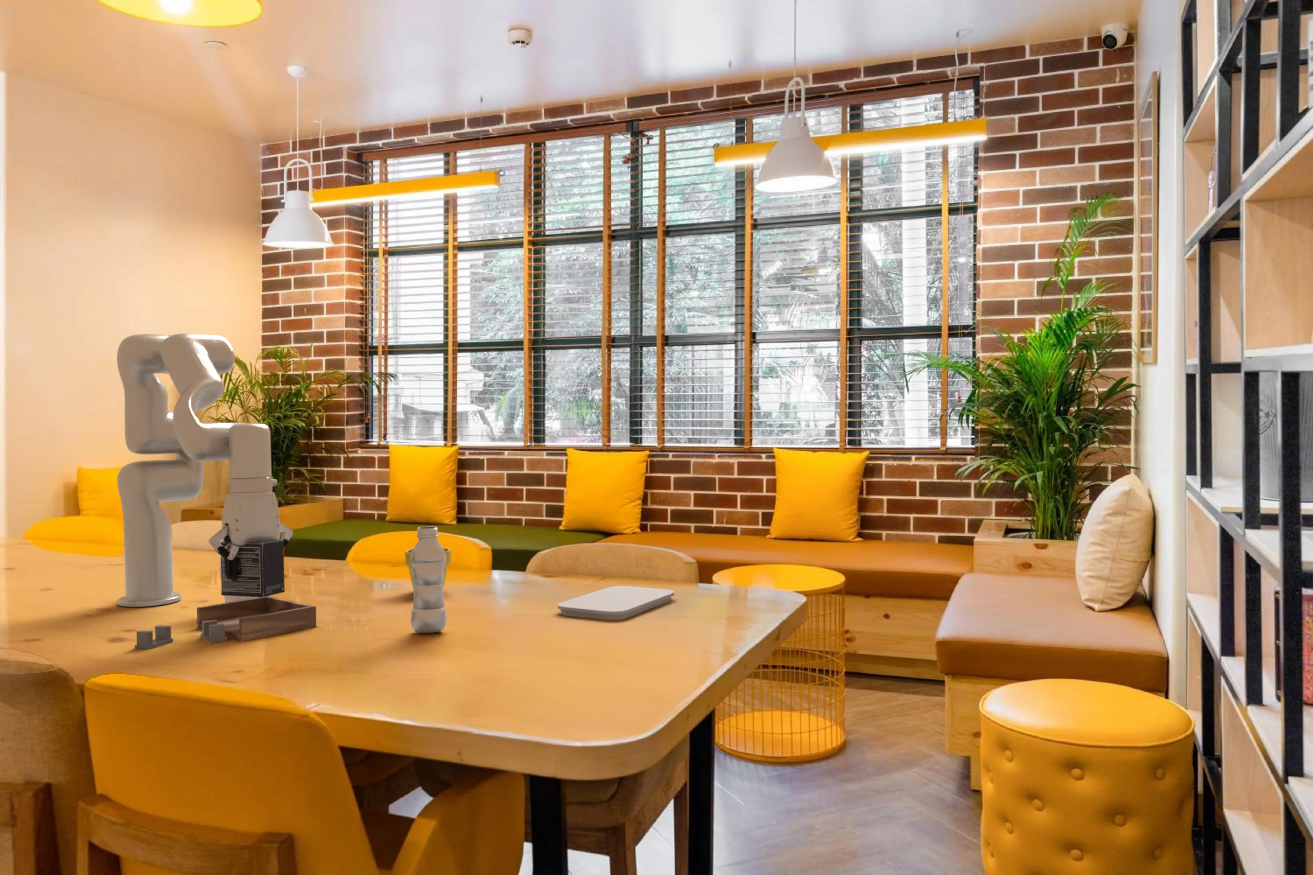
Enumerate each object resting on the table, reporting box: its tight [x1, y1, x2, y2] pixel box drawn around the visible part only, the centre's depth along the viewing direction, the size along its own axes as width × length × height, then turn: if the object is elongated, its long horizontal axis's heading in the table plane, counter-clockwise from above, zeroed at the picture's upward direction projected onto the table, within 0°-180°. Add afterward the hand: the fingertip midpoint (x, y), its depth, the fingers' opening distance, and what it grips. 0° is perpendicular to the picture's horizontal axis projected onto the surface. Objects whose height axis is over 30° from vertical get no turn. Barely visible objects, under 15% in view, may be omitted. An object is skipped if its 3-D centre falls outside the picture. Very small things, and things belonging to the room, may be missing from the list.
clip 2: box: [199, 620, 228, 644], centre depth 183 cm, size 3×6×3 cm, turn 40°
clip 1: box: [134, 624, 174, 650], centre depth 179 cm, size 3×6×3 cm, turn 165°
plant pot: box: [404, 546, 452, 590], centre depth 229 cm, size 10×10×10 cm
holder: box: [196, 595, 317, 642], centre depth 193 cm, size 18×15×4 cm
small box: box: [220, 540, 286, 597], centre depth 192 cm, size 11×6×10 cm, turn 70°
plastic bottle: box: [410, 525, 448, 634], centre depth 186 cm, size 6×7×20 cm
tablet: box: [557, 585, 675, 621], centre depth 209 cm, size 16×26×2 cm, turn 152°
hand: (253, 575), depth 192 cm, fingers closed on small box, 7 cm apart
